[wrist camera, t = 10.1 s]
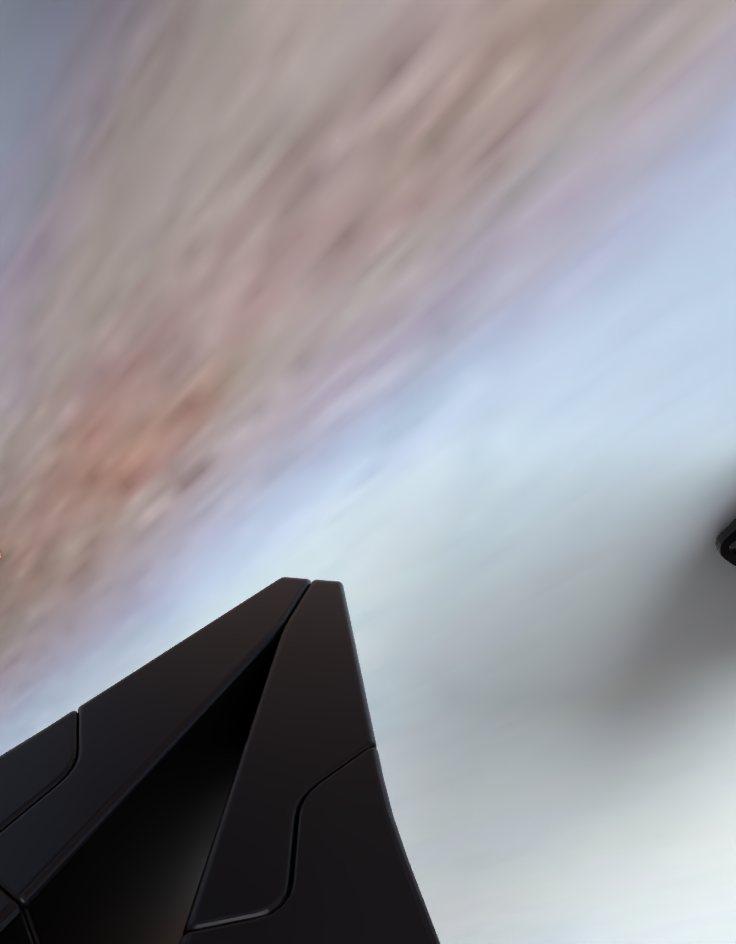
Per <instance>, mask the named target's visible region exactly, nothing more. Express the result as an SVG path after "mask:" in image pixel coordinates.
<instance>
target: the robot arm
mask: <svg viewBox="0 0 736 944" xmlns="http://www.w3.org/2000/svg"><path fill="white" fill-rule="evenodd" d="M735 541H736V519H735V520H734V521H733V522H732V523H731V524H730V525H729V526H728V527H727V528H725V529H724V530H723V531H722V532H721V533H720V535H719V536H718V537H717V540H716V546H717V549H718V551H719V552H720V554H721V555H722V556H723V557H724V558H725V559H726V560H727V561H729V562H730V563H732V564H733V565H735V566H736V548H734V549H730V548H729V546H730V545H731V544H732V543H733V542H735ZM0 944H440V942H439V939H438V937H437V934H436V931H435V929H434V926H433V923H432V921H431V918H430V916H429V913H428V910H427V908H426V905H425V903H424V900H423V897H422V895H421V892H420V890H419V887H418V884H417V882H416V879H415V877H414V874H413V871H412V869H411V866H410V863H409V861H408V858H407V855H406V852H405V849H404V846H403V843H402V840H401V837H400V834H399V831H398V828H397V825H396V822H395V820H394V817H393V813H392V809H391V806H390V802H389V798H388V794H387V790H386V786H385V782H384V778H383V773H382V769H381V764H380V759H379V754H378V751H377V749H376V741H375V736H374V732H373V727H372V722H371V717H370V712H369V708H368V703H367V698H366V693H365V688H364V684H363V679H362V674H361V669H360V664H359V660H358V655H357V650H356V645H355V641H354V636H353V631H352V626H351V621H350V617H349V612H348V607H347V602H346V597H345V593H344V588H343V585H342V583H340V582H338V581H325V580H314V581H313V582H311V581H310V580H308V579H301V578H289V577H283V578H281V579H279V580H277V581H275V582H274V583H272V584H271V585H269V586H268V587H266V588H264V589H263V590H261V591H260V592H258V593H257V594H255V595H254V596H252V597H250V598H249V599H247V600H246V601H244V602H243V603H241V604H239V605H238V606H236V607H235V608H233V609H232V610H230V611H229V612H227V613H225V614H224V615H222V616H221V617H219V618H218V619H216V620H214V621H213V622H211V623H210V624H208V625H207V626H205V627H204V628H202V629H200V630H199V631H197V632H196V633H194V634H193V635H191V636H189V637H188V638H186V639H185V640H183V641H182V642H180V643H179V644H177V645H175V646H174V647H172V648H171V649H169V650H168V651H166V652H164V653H163V654H161V655H160V656H158V657H157V658H155V659H154V660H152V661H150V662H149V663H147V664H146V665H144V666H143V667H141V668H139V669H138V670H136V671H135V672H133V673H132V674H130V675H129V676H127V677H125V678H124V679H122V680H121V681H119V682H118V683H116V684H114V685H113V686H111V687H110V688H108V689H107V690H105V691H104V692H102V693H100V694H99V695H97V696H96V697H94V698H93V699H91V700H89V701H88V702H86V703H85V704H83V705H82V706H80V707H79V709H78V713H77V712H76V711H72V712H70V713H69V714H67V715H66V716H64V717H63V718H61V719H59V720H58V721H56V722H55V723H53V724H52V725H50V726H48V727H47V728H45V729H44V730H42V731H40V732H39V733H37V734H36V735H34V736H32V737H31V738H29V739H27V740H26V741H24V742H23V743H21V744H19V745H18V746H16V747H14V748H13V749H11V750H9V751H8V752H6V753H5V754H3V755H1V756H0Z"/></svg>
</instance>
